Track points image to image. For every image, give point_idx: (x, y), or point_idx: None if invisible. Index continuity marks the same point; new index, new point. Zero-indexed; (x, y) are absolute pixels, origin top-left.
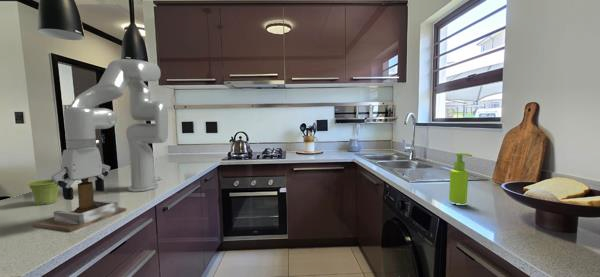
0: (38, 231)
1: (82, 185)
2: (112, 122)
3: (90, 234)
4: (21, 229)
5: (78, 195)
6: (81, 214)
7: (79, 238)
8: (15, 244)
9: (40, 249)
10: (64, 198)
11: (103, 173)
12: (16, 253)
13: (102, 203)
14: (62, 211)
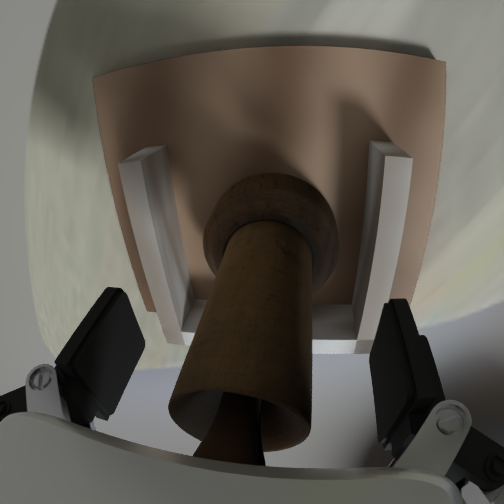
0: (91, 177)
1: (192, 428)
2: None
3: (177, 365)
4: (69, 76)
5: (203, 312)
6: (177, 343)
7: (150, 359)
8: (39, 233)
9: (78, 325)
10: (108, 291)
11: (464, 481)
12: (44, 294)
13: (369, 269)
14: (146, 209)
